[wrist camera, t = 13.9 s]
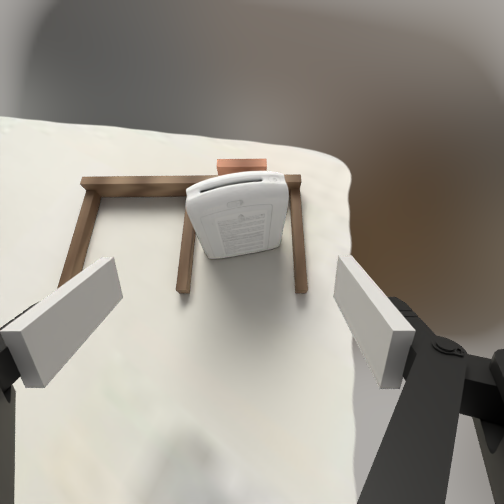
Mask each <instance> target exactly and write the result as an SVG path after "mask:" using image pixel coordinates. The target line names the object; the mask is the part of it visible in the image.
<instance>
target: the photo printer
mask: <svg viewBox="0 0 504 504" xmlns="http://www.w3.org/2000/svg"><path fill="white" fill-rule="evenodd" d="M186 194H187V199H186V211H187V214H188V216H189V218H190V221H191V223H192V225H193V227H194V230H195V232H196V234H197V236H198V239H199V241H200V243H201V245H202V248H203V250H204V252H205V253H206V255H207V256H208V258H210V259H218V258H226V257H232V256H238V255H244V254H249V253H255V252H260V251H265V250H269V249H273V248H276V247H278V246H279V245H280V242H281V237H282V232H283V228H284V223H285V218H286V213H287V209H288V200H289V191H288V187H287V184H286V182H285V178H284V174H283V173H279V172H273V171H247V172H238V173H232V174H226V175H222V176H218V177H214V178H210V179H207V180H204V181H201V182H199V183H196V184H194V185H192V186H190V187H189V188H187V189H186Z"/></svg>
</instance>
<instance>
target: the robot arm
mask: <svg viewBox="0 0 504 504" xmlns="http://www.w3.org/2000/svg"><path fill="white" fill-rule="evenodd" d="M333 297H334V299H335V301H336V303H337V305H338V307H339V309H340V311H341V313H342V315H343V317H344V319H345V321H346V323H347V325H348V327H349V329H350V331H351V333H352V335H353V337H354V339H355V340H356V343H357V345H358V347H359V349H360V350H361V352H362V354H363V356H364V358H365V360H366V362H367V364H368V366H369V368H370V370H371V372H372V374H373V376H374V378H375V380H376V382H377V384H378V386H379V388H380V389H400V386H401V383H402V379H403V377H404V379H405V381H406V383H405V385H404V387H403V390H402V393H401V395H400V397H399V400H398V402H397V405H396V407H395V410H394V412H393V415H392V417H391V420H390V422H389V425H388V427H387V430H386V432H385V435H384V437H383V440H382V442H381V445H380V447H379V450H378V452H377V455H376V457H375V460H374V462H373V465H372V467H371V470H370V472H369V475H368V477H367V480H366V482H365V485H364V487H363V490H362V492H361V495H360V497H359V500H358V502H357V504H445V499H446V493H447V487H448V481H449V474H450V468H451V462H452V456H453V449H454V442H455V437H456V430H457V424H458V418H459V413H460V414H463V415H467V416H471V417H472V418H473V421H474V425H475V429H476V433H477V436H478V441H479V444H480V448H481V452H482V456H483V460H484V464H485V467H486V471H487V475H488V478H489V483H490V486H491V490H492V494H493V498H494V502H495V504H504V349H501V350H497V351H496V352H495V353H494V355H493V357H492V359H488V358H483V357H479V356H474V355H469V354H467V352H466V351H465V350H464V349H463V348H462V346H460V345H459V344H457V343H456V342H454V341H452V340H450V339H447V338H444V337H440V336H436V335H435V334H434V333H433V332H432V331H431V329H430V328H429V327H428V326H427V325H426V324H425V323H424V322H423V321H422V320H421V319H420V318H419V317H418V316H417V315H416V313H414V312H413V311H412V309H411V308H410V307H409V306H408V305H407V304H406V303H405V302H403V301H401V300H400V299H398V298H396V297H387V296H386V295H385V294H384V293H383V292H382V291H381V289H380V288H379V287H378V286H377V285H376V284H375V283H374V281H373V280H372V279H371V278H370V277H369V275H368V274H367V273H366V272H365V271H364V270H363V268H362V267H361V266H360V265H359V264H358V263H357V261H356V260H355V259H354V258H353V257H352V256H338V262H337V270H336V279H335V287H334V295H333ZM122 298H123V295H122V291H121V286H120V282H119V278H118V273H117V269H116V265H115V260H114V257H101V258H99V259H98V260H96V261H95V262H94V263H92V264H91V265H90V266H88V267H87V268H85V269H84V270H83V271H81V272H80V273H79V274H77V275H76V276H75V277H73V278H72V279H70V280H69V281H68V282H66V283H65V284H64V285H62V286H61V287H59V288H58V289H57V290H55V291H54V292H53V293H51V294H50V295H48V296H47V297H46V298H44V299H43V300H42V301H40V302H38V303H36V304H34V305H32V306H30V307H29V308H28V309H26V310H25V311H23V313H21V314H19V315H18V316H16V317H15V319H12V320H11V321H9V322H8V323H7V324H5V325H4V326H3V327H1V328H0V504H14V476H15V397H16V391H15V389H14V387H13V385H12V384H13V383H14V382H15V381H16V380H17V379H18V378H19V377H21V379H22V381H23V383H24V385H25V387H26V388H45V387H46V386H47V385H48V383H49V382H50V381H51V380H52V379H53V378H54V376H55V375H56V374H57V373H58V372H59V371H60V370H61V368H62V367H63V366H64V365H65V364H66V363H67V362H68V360H69V359H70V358H71V357H72V356H73V355H74V353H75V352H76V351H77V350H78V349H79V348H80V347H81V345H82V344H83V343H84V342H85V341H86V340H87V338H88V337H89V336H90V335H91V334H92V333H93V332H94V330H95V329H96V328H97V327H98V326H99V325H100V324H101V322H102V321H103V320H104V319H105V318H106V317H107V315H108V314H109V313H110V312H111V311H112V310H113V309H114V307H115V306H116V305H117V304H118V303H119V302H120V300H121V299H122Z"/></svg>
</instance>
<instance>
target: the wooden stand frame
mask: <svg viewBox="0 0 504 504" xmlns="http://www.w3.org/2000/svg"><path fill="white" fill-rule="evenodd" d="M266 169H267V161H266V159H217V171H218V175H207V176H112V177H82V180H81V183H80V185H81V186H82V187H83V188H84V189H85V190H86V194H85V197H84V200H83V204H82V207H81V210H80V214H79V217H78V221H77V224H76V227H75V231H74V234H73V237H72V241H71V244H70V247H69V251H68V254H67V257H66V261H65V264H64V268H63V271H62V274H61V278H60V281H59V284H58V288H59V287H61V286H62V285H64V284H65V283H66V282H68V281H69V280H70V279H72V278H73V277H75V276H76V275H77V274H79V273H80V272H81V271H82V268H83V264H84V260H85V257H86V253H87V249H88V245H89V242H90V238H91V234H92V231H93V227H94V223H95V219H96V216H97V212H98V208H99V204H100V201H101V197H180V196H187V194H186V189H187V188H189V187H190V186H192V185H194V184H196V183H199V182H201V181H204V180H207V179H210V178H214V177H218V176H222V175H226V174H232V173H238V172H247V171H266ZM284 178H285V182H286V184H287V187H288V191H289V196H290V211H291V227H292V244H293V261H294V277H295V293H306V292H307V290H308V286H307V274H306V261H305V248H304V235H303V223H302V210H301V197H300V186H301V175H284ZM194 242H195V230H194V227H193V225H192V223H191V221H190V218H189V216H188V214H187V211H186V209H185V217H184V225H183V234H182V242H181V251H180V259H179V267H178V276H177V284H176V291H177V292H179V293H190V283H191V272H192V262H193V252H194ZM58 288H57V289H58Z"/></svg>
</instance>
